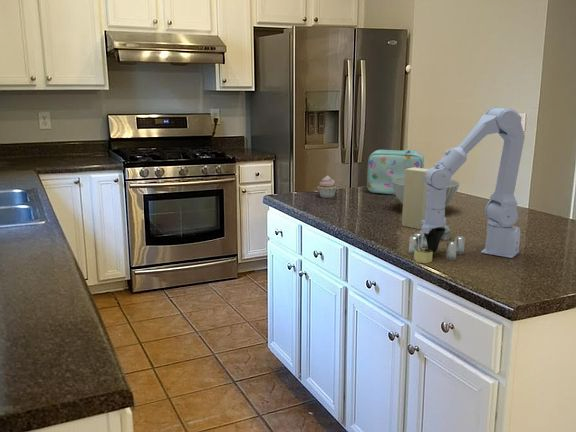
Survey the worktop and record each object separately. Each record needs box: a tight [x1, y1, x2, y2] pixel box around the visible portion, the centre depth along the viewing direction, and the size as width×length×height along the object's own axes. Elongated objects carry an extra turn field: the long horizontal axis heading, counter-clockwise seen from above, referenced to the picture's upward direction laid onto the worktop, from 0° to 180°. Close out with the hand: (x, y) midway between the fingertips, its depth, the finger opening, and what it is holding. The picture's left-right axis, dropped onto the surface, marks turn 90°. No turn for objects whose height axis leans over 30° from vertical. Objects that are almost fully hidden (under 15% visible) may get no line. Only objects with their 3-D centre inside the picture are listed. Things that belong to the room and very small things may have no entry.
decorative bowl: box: [391, 177, 460, 207], centre depth 233 cm, size 27×27×12 cm
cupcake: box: [316, 175, 339, 199], centre depth 260 cm, size 9×9×10 cm
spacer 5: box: [454, 235, 466, 255], centre depth 175 cm, size 3×3×5 cm
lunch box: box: [366, 148, 426, 196], centre depth 267 cm, size 27×10×21 cm, turn 72°
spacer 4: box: [445, 240, 457, 261], centre depth 170 cm, size 3×3×5 cm
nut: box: [413, 247, 434, 264], centre depth 168 cm, size 5×5×3 cm
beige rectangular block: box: [401, 167, 430, 230], centre depth 207 cm, size 8×7×21 cm
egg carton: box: [440, 224, 451, 241], centre depth 195 cm, size 11×8×4 cm
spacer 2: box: [413, 232, 423, 248], centre depth 179 cm, size 3×3×5 cm
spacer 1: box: [408, 235, 419, 255], centre depth 175 cm, size 3×3×5 cm
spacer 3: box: [419, 229, 428, 248], centre depth 183 cm, size 3×3×5 cm
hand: (432, 251), depth 174 cm, fingers closed
